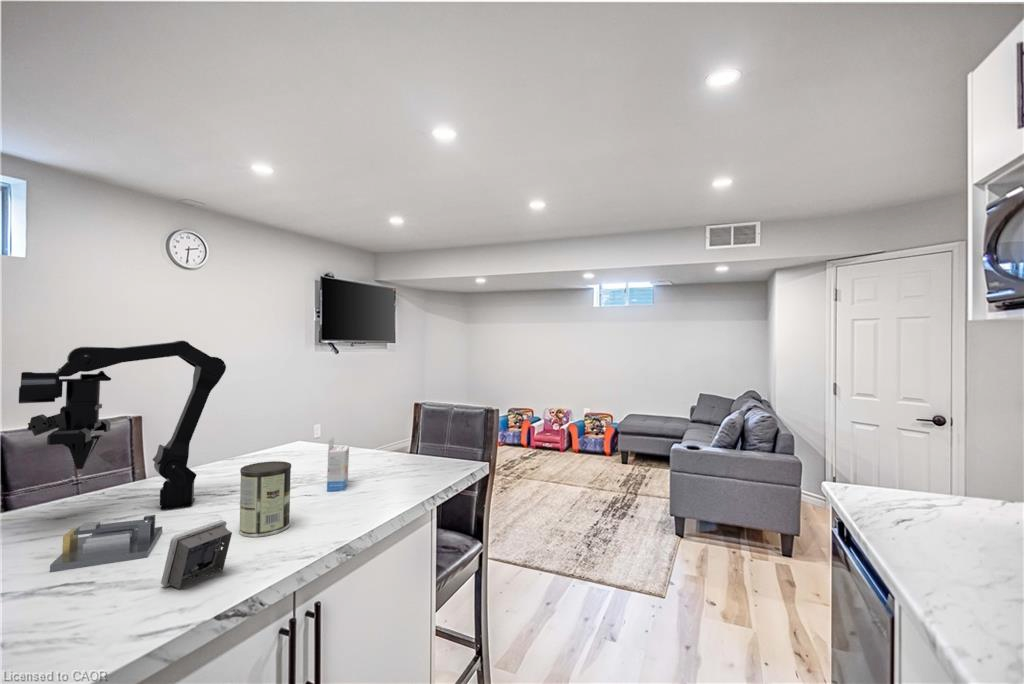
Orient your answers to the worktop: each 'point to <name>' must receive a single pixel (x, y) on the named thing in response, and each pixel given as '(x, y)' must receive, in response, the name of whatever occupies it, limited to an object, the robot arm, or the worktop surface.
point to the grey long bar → (108, 526)
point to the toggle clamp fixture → (107, 546)
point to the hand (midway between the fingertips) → (80, 468)
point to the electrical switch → (196, 554)
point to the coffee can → (265, 498)
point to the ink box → (337, 467)
